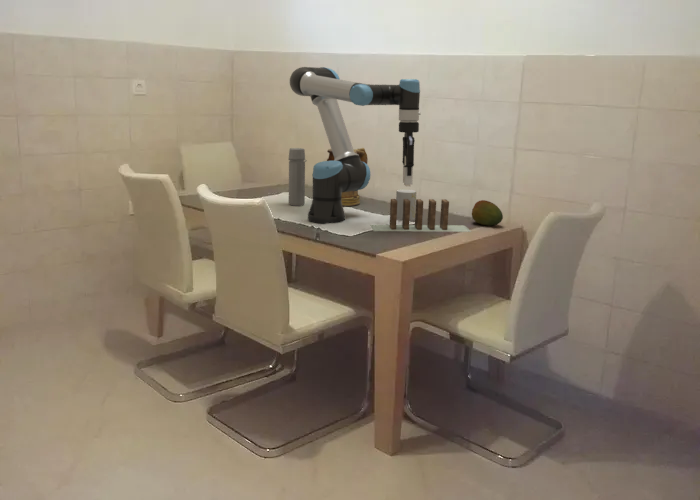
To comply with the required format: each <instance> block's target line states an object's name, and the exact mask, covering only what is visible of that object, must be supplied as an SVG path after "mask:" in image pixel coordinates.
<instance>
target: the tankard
mask: <svg viewBox="0 0 700 500" xmlns="http://www.w3.org/2000/svg"><path fill="white" fill-rule="evenodd" d="M353 150H354V153H356V154H358V155H359V157H360V160H361V162H365V163H366V164H367V165H368V162H369V161H368V154H367V151H366V149H365V147H361V148H357V149H353ZM327 153H328V154H329V155H328V158H326V161H334V159H335V158H334V155H333V152H332V149H331V148H328V149H327ZM341 202H342V206H343V207H353V206H354V207H355V206H358V205H360V204H361V200H360V194H359V190H358V191H349V192H342V195H341Z"/></svg>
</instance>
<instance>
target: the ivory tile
mask: <svg viewBox="0 0 700 500" xmlns="http://www.w3.org/2000/svg"><path fill="white" fill-rule="evenodd" d="M404 165H406V156H405V164H404ZM404 165H403V166H404ZM403 186H404V187H411V186H412V185H405V167H404V183H403Z"/></svg>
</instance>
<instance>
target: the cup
mask: <svg viewBox="0 0 700 500" xmlns="http://www.w3.org/2000/svg"><path fill="white" fill-rule="evenodd" d="M417 192H418V191H417V190H414V189H403V188H402V189H397V190H396V194H395V195H396V197H395V199H396V200H397V221H402V219H403V199H409V200H410V220H409V222H412V221H415V213H416V199H417Z"/></svg>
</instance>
